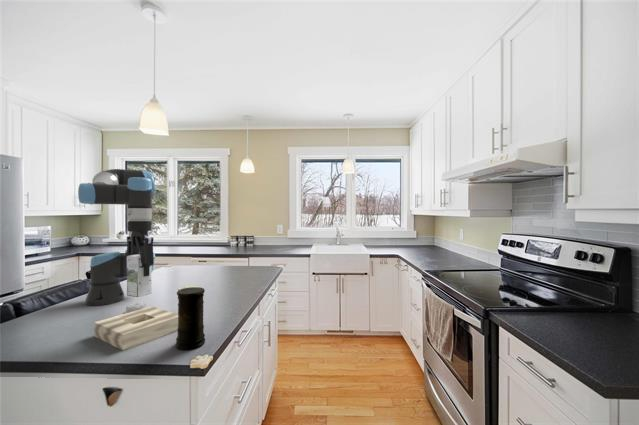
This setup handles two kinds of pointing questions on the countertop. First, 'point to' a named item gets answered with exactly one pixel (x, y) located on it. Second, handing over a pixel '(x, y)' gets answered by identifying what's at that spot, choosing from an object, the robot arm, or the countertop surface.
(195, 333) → the container
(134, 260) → the syrup box
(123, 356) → the countertop surface
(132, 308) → the mechanical component
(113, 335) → the socket block
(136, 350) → the countertop surface
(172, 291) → the countertop surface
